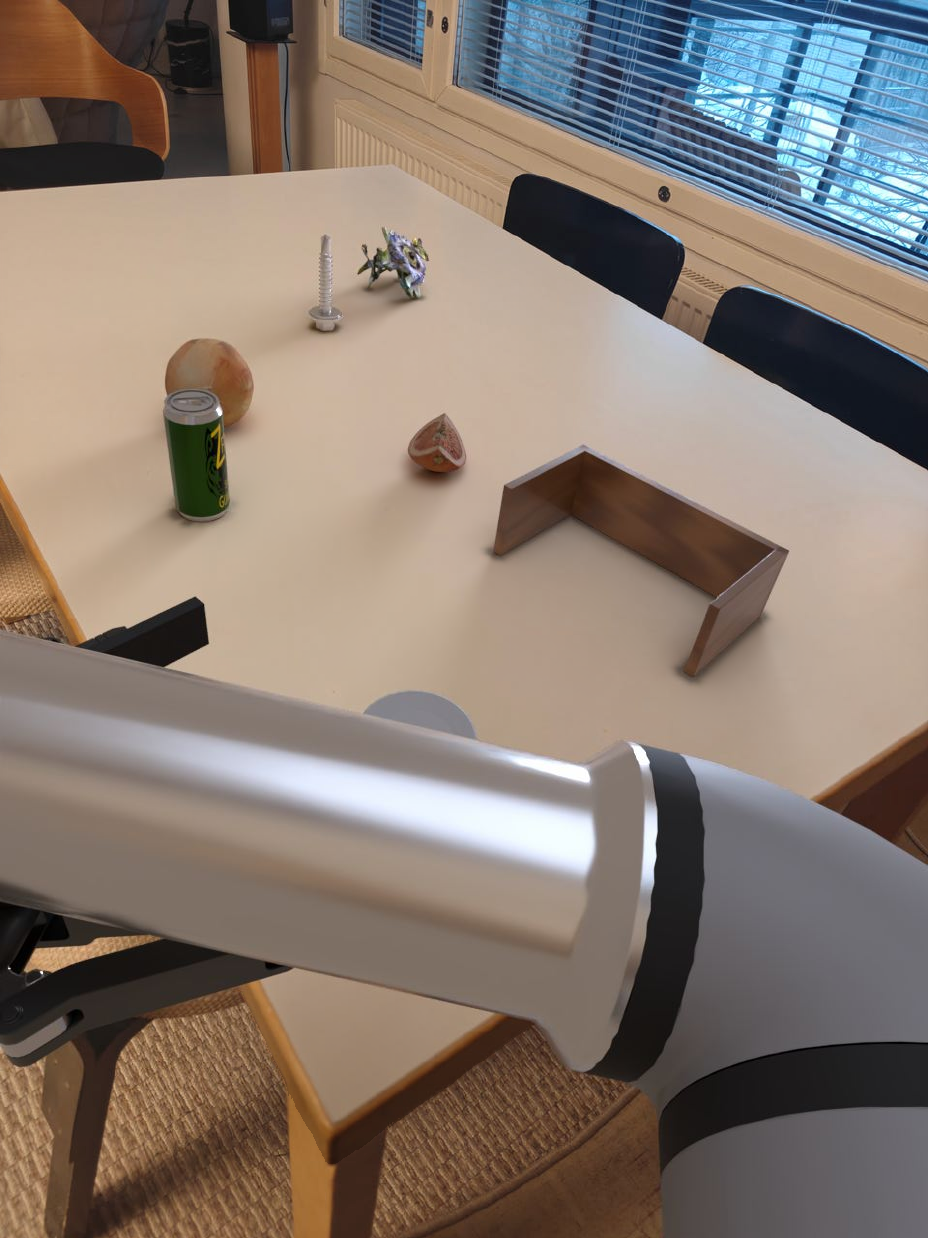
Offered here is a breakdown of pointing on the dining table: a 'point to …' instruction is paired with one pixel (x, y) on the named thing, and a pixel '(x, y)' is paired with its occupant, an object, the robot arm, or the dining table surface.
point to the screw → (325, 291)
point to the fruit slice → (438, 446)
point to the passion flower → (399, 262)
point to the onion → (213, 375)
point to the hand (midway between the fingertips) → (288, 693)
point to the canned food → (424, 712)
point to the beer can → (197, 454)
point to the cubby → (650, 536)
